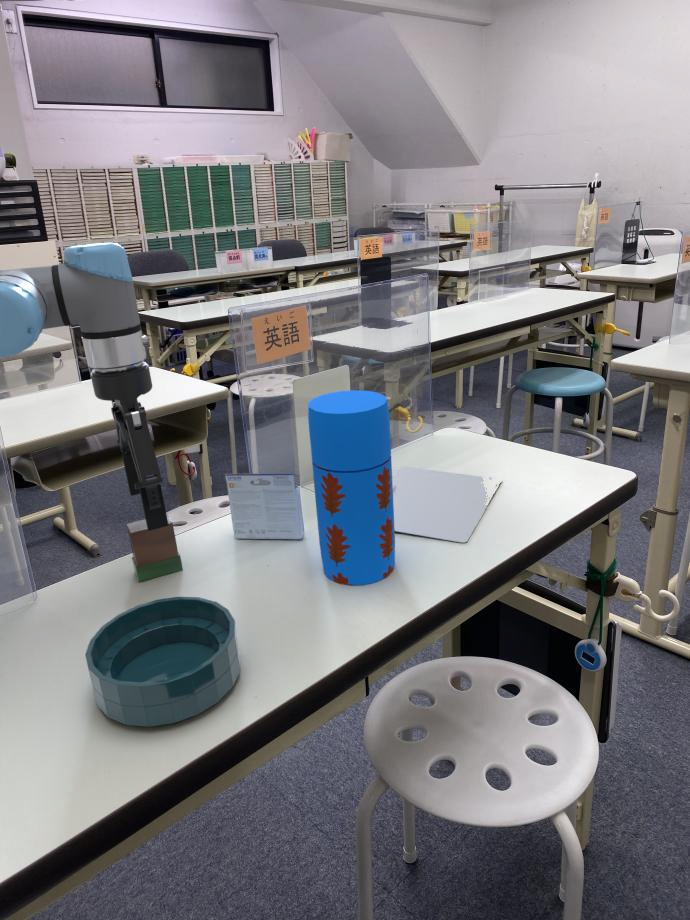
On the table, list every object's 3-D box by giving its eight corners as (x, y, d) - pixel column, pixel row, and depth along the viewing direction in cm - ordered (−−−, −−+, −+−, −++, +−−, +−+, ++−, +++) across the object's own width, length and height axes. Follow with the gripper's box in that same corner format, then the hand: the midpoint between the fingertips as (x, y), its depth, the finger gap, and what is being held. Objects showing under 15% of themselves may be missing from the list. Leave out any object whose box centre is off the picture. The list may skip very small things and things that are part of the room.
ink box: (305, 534, 110) (299, 467, 106) (302, 541, 108) (295, 473, 104) (237, 532, 112) (228, 467, 108) (232, 539, 110) (223, 473, 106)
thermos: (370, 593, 93) (360, 418, 83) (307, 574, 98) (290, 408, 89) (409, 557, 101) (402, 394, 92) (348, 541, 107) (336, 386, 97)
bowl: (89, 664, 82) (78, 622, 80) (218, 622, 89) (212, 583, 86) (108, 754, 69) (96, 706, 67) (260, 697, 75) (254, 652, 73)
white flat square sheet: (383, 466, 134) (383, 461, 134) (503, 482, 125) (503, 476, 124) (327, 522, 113) (326, 516, 113) (465, 546, 104) (466, 539, 103)
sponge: (134, 571, 103) (124, 524, 100) (177, 559, 105) (168, 513, 102) (138, 582, 99) (128, 533, 97) (183, 570, 102) (174, 522, 99)
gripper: (167, 379, 82) (195, 536, 89) (131, 345, 103) (156, 475, 111) (102, 390, 79) (137, 552, 87) (79, 353, 100) (109, 486, 108)
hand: (148, 509), depth 99 cm, fingers open, 13 cm apart
